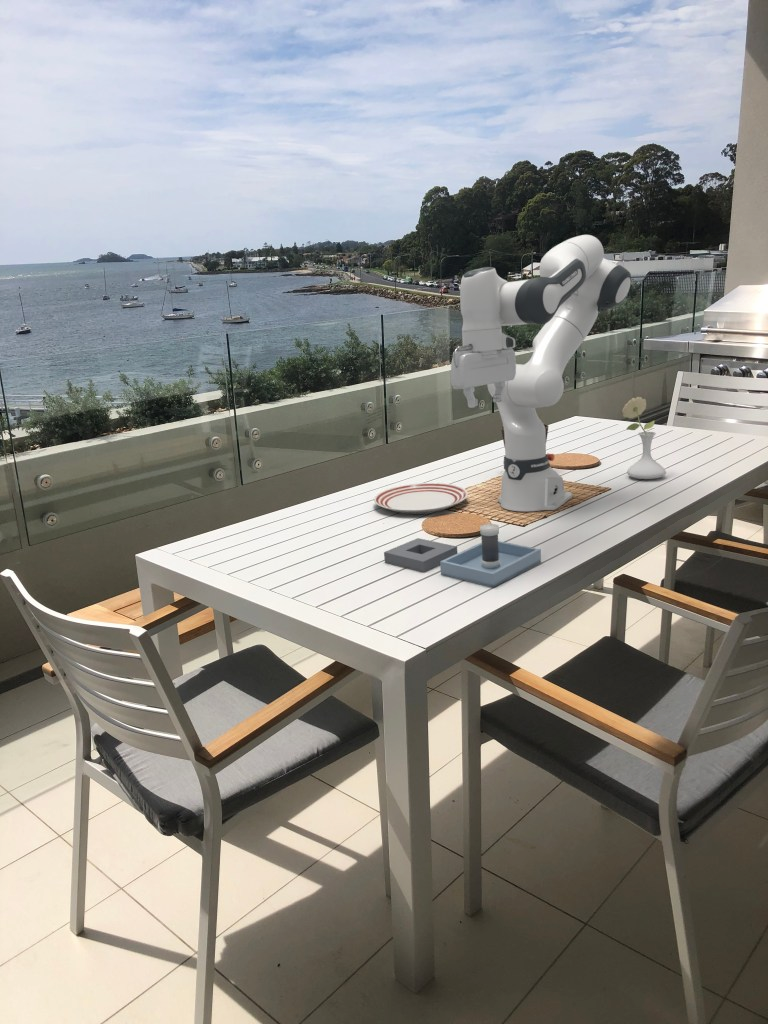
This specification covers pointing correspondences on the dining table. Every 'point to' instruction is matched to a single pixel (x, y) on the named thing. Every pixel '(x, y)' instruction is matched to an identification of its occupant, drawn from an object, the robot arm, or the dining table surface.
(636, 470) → the flower in vase
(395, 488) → the dinner plate
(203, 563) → the dining table surface
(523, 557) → the parts tray
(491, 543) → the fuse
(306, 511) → the dining table surface
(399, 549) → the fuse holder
